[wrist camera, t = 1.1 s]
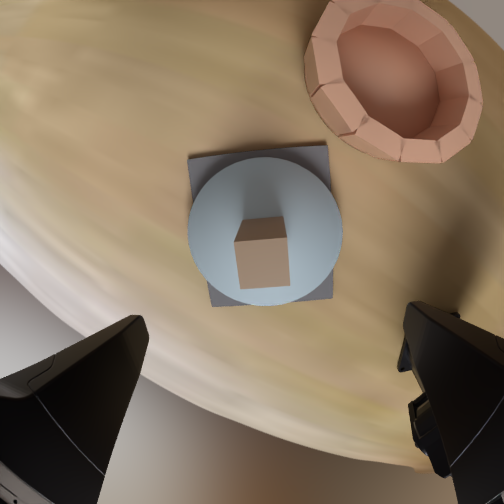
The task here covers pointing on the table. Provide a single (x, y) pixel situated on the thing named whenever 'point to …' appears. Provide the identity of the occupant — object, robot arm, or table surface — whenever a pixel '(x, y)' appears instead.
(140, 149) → the table surface
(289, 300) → the lid
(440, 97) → the bowl
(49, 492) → the robot arm
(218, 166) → the mat
